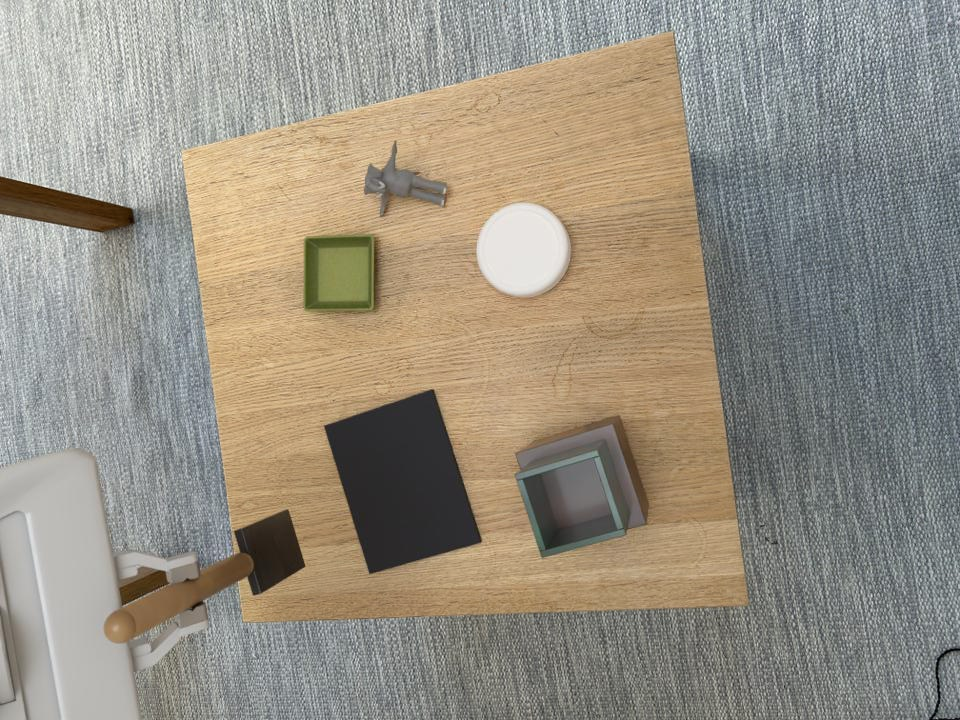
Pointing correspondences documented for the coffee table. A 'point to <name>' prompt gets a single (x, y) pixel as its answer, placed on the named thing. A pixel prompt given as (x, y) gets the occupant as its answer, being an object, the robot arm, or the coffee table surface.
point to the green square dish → (339, 273)
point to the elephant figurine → (400, 183)
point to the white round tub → (523, 250)
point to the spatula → (217, 577)
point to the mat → (402, 482)
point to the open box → (581, 487)
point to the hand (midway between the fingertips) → (202, 587)
